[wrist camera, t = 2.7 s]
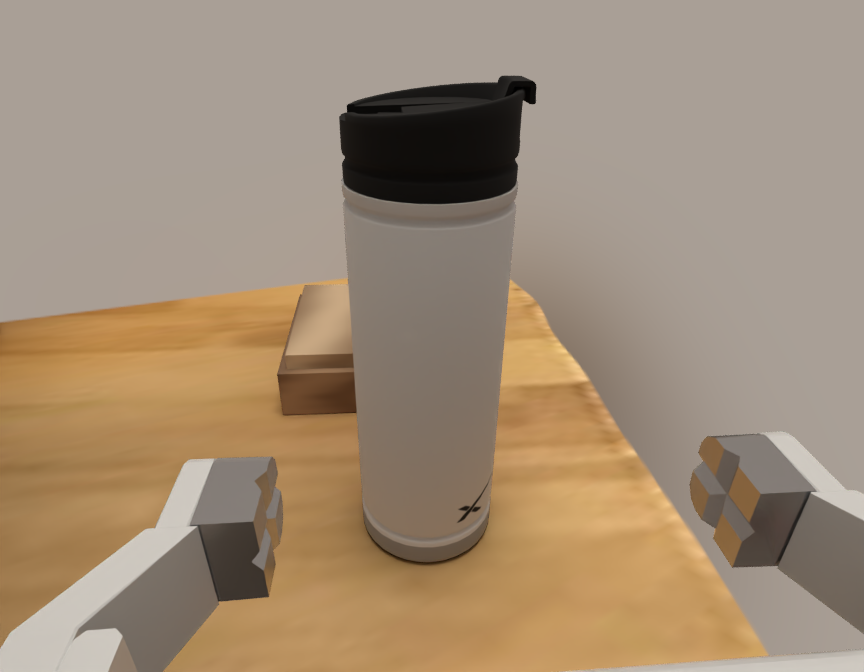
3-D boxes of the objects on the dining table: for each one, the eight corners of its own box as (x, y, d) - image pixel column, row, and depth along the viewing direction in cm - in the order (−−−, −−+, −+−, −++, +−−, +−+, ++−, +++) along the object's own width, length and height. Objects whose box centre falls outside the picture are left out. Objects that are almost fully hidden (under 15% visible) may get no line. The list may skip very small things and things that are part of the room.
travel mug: (507, 560, 26) (561, 89, 16) (362, 570, 26) (328, 88, 16) (483, 466, 32) (514, 69, 22) (364, 472, 31) (339, 68, 21)
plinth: (283, 414, 35) (275, 360, 33) (304, 329, 45) (298, 282, 43) (459, 408, 36) (461, 354, 34) (442, 325, 46) (444, 279, 44)
